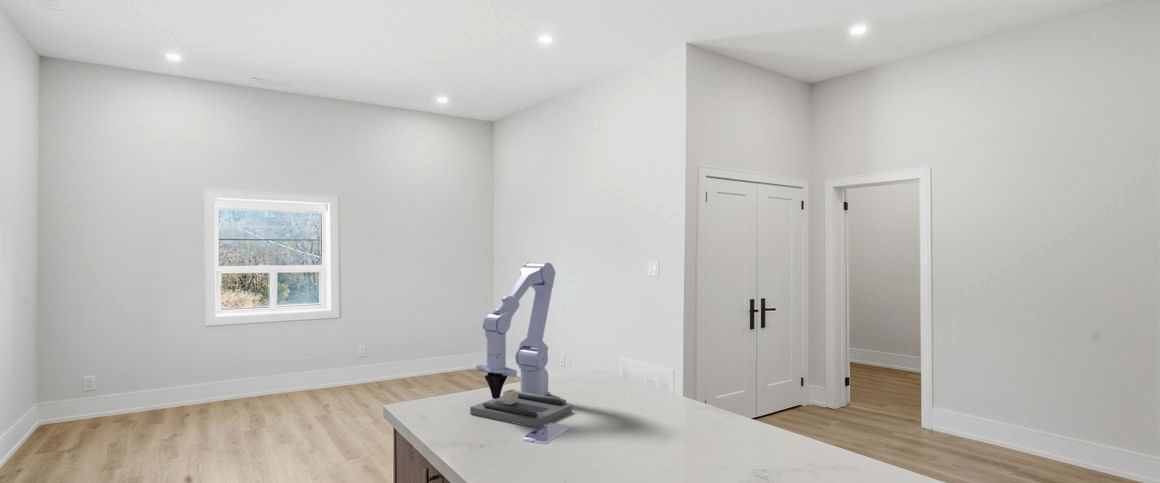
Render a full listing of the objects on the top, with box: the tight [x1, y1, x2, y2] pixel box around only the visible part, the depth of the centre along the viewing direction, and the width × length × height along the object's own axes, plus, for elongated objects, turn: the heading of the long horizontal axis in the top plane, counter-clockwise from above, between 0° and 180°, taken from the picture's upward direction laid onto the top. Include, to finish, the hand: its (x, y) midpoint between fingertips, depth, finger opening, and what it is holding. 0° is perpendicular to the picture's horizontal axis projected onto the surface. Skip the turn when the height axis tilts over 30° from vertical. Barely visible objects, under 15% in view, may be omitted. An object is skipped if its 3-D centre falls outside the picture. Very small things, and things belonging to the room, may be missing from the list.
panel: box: [469, 395, 573, 429], centre depth 172 cm, size 18×24×2 cm
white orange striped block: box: [502, 388, 519, 405], centre depth 174 cm, size 4×3×4 cm
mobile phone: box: [521, 422, 570, 445], centre depth 154 cm, size 8×1×15 cm
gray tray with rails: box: [483, 390, 567, 417], centre depth 173 cm, size 17×20×1 cm
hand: (496, 397), depth 177 cm, fingers closed
